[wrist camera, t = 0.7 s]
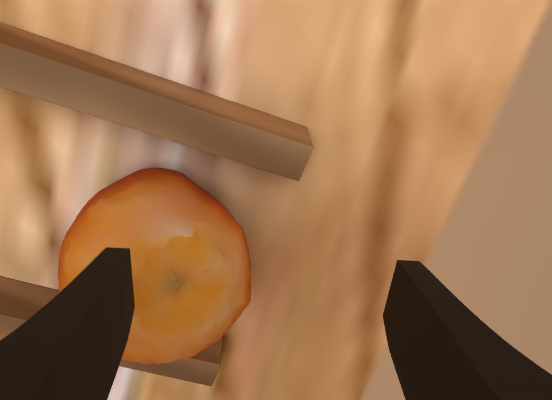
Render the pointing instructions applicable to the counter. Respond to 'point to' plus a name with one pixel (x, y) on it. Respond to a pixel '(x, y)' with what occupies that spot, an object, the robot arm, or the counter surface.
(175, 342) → the fruit
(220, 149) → the chute
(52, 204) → the counter surface
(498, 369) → the robot arm
